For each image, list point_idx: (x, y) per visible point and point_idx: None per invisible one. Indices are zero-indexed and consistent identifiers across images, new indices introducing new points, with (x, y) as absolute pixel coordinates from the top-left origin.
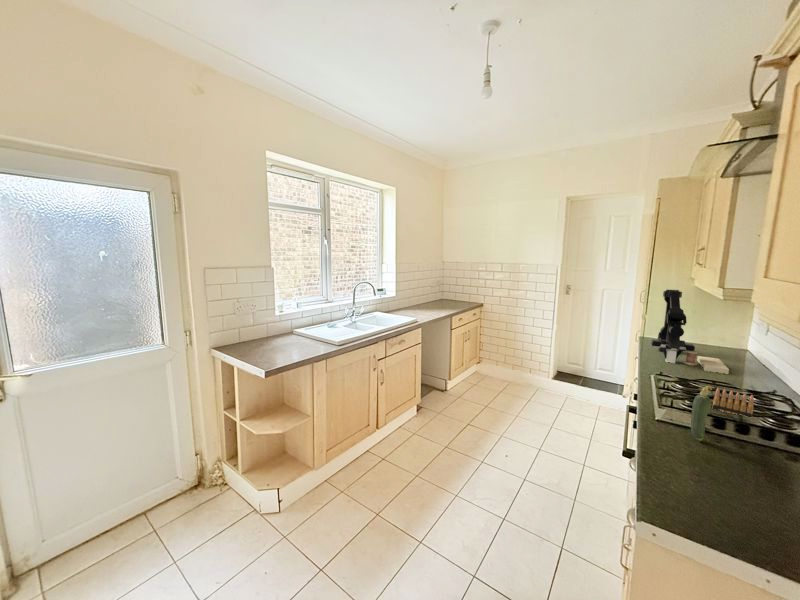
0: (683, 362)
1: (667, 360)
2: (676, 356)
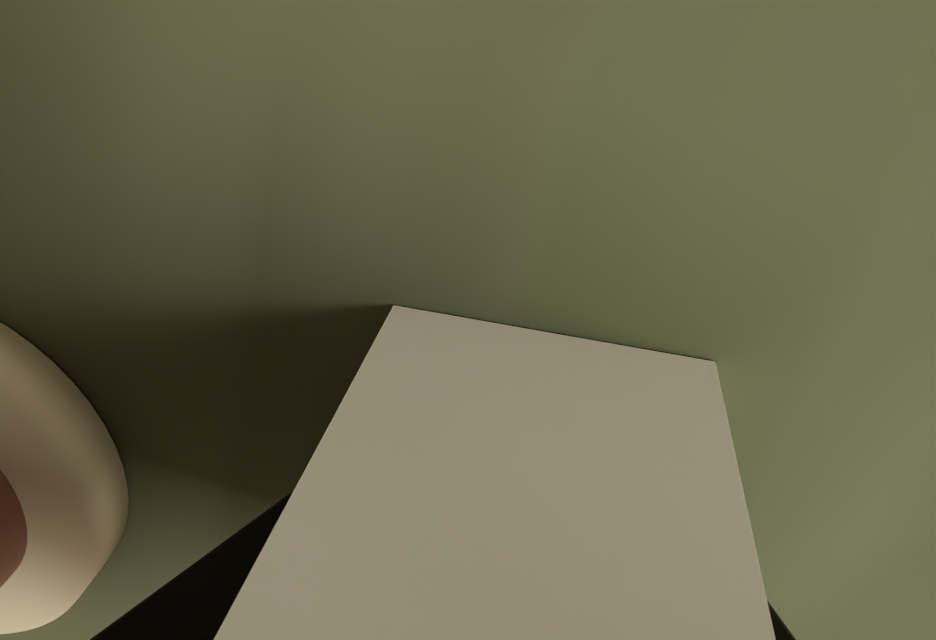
0: (107, 471)
1: (676, 411)
2: None
